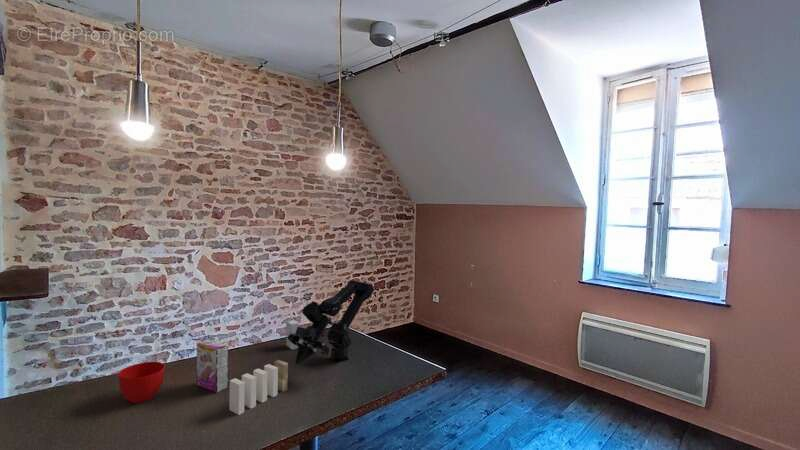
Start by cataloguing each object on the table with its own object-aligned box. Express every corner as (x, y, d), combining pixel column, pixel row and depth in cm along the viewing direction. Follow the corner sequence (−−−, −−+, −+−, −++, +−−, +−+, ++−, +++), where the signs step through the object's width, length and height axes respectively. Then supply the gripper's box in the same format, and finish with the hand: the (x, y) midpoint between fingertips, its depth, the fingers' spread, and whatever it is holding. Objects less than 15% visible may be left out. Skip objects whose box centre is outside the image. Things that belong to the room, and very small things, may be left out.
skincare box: (299, 347, 174) (300, 322, 174) (290, 350, 172) (291, 324, 171) (294, 343, 179) (294, 319, 179) (285, 345, 176) (285, 321, 176)
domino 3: (257, 395, 131) (258, 368, 130) (267, 400, 128) (267, 372, 127) (252, 398, 129) (253, 370, 128) (262, 402, 126) (262, 374, 126)
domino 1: (234, 407, 123) (235, 378, 122) (244, 412, 120) (244, 382, 120) (229, 410, 121) (229, 380, 121) (238, 414, 119) (239, 384, 118)
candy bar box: (195, 386, 136) (195, 342, 135) (207, 380, 140) (207, 338, 139) (216, 393, 131) (217, 348, 130) (228, 387, 135) (228, 344, 135)
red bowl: (157, 381, 138) (157, 355, 138) (168, 399, 126) (168, 370, 126) (114, 392, 129) (114, 364, 129) (121, 413, 117) (121, 382, 117)
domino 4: (268, 390, 134) (268, 363, 134) (277, 394, 132) (277, 367, 131) (263, 392, 133) (264, 365, 132) (272, 397, 130) (273, 369, 130)
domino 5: (278, 385, 138) (278, 359, 138) (287, 389, 136) (287, 363, 135) (273, 387, 136) (274, 361, 136) (283, 391, 134) (283, 365, 133)
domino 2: (246, 401, 127) (246, 373, 126) (256, 405, 124) (256, 377, 124) (241, 403, 125) (241, 375, 124) (250, 408, 122) (251, 379, 122)
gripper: (291, 313, 151) (268, 348, 142) (325, 322, 141) (303, 360, 132) (305, 327, 158) (284, 361, 149) (338, 337, 148) (318, 373, 139)
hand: (296, 364), depth 142 cm, fingers closed
